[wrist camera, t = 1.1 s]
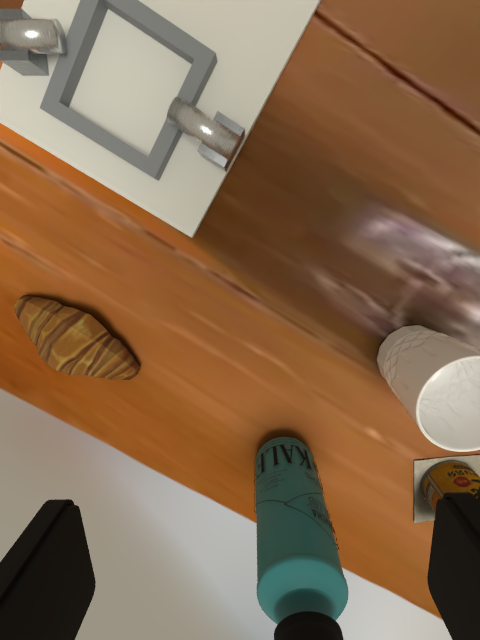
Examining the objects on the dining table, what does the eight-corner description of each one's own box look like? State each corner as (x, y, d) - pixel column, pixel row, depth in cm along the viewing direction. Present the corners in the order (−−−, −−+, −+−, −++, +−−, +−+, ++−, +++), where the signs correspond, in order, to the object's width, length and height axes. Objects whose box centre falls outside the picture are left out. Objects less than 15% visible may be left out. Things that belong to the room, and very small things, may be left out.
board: (120, -246, 24) (105, -299, 21) (356, -66, 26) (367, -96, 24) (-6, 117, 30) (-29, 108, 28) (193, 237, 32) (188, 238, 30)
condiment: (481, 453, 38) (583, 554, 26) (476, 515, 40) (569, 634, 28) (413, 459, 38) (484, 561, 26) (412, 520, 40) (478, 639, 29)
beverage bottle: (288, 485, 39) (324, 734, 20) (241, 456, 38) (232, 686, 19) (324, 446, 38) (401, 674, 19) (276, 414, 37) (304, 619, 18)
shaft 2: (170, 137, 29) (160, 125, 26) (188, 100, 28) (180, 83, 25) (226, 172, 30) (223, 165, 26) (245, 137, 29) (245, 125, 26)
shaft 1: (74, 29, 27) (49, 1, 24) (78, 75, 28) (55, 55, 25) (16, 29, 27) (-16, 1, 24) (22, 75, 28) (-8, 55, 25)
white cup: (379, 314, 34) (431, 350, 24) (459, 323, 34) (542, 362, 24) (363, 386, 36) (405, 446, 26) (438, 395, 36) (507, 457, 26)
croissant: (12, 325, 36) (-26, 340, 31) (40, 271, 34) (5, 278, 29) (125, 393, 37) (106, 418, 32) (156, 345, 36) (142, 364, 31)
